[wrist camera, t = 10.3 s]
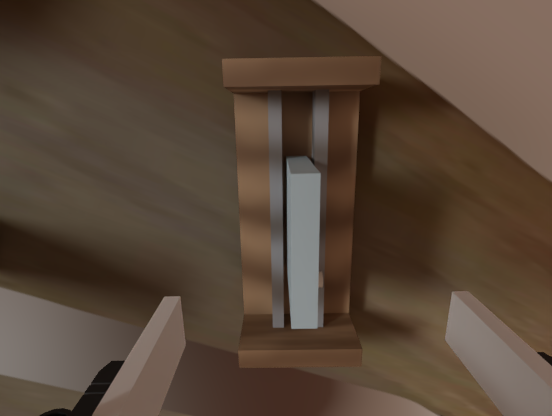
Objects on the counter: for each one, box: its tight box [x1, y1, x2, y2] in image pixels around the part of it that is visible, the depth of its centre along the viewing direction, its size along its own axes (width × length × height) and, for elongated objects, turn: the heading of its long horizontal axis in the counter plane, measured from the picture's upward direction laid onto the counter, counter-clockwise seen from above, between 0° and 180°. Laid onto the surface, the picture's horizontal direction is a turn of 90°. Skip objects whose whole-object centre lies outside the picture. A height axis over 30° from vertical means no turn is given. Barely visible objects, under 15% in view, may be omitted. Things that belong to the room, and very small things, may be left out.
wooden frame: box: [222, 56, 381, 368], centre depth 32 cm, size 28×12×8 cm, turn 1°
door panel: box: [286, 156, 323, 329], centre depth 28 cm, size 12×3×11 cm, turn 1°
